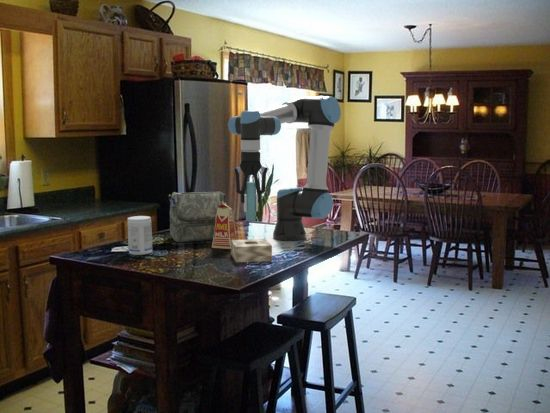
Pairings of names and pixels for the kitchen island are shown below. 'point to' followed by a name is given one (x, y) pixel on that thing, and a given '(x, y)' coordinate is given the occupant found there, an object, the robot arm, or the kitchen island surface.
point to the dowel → (251, 201)
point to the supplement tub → (139, 235)
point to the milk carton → (224, 227)
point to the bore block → (251, 250)
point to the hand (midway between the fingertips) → (250, 211)
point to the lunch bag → (194, 215)
